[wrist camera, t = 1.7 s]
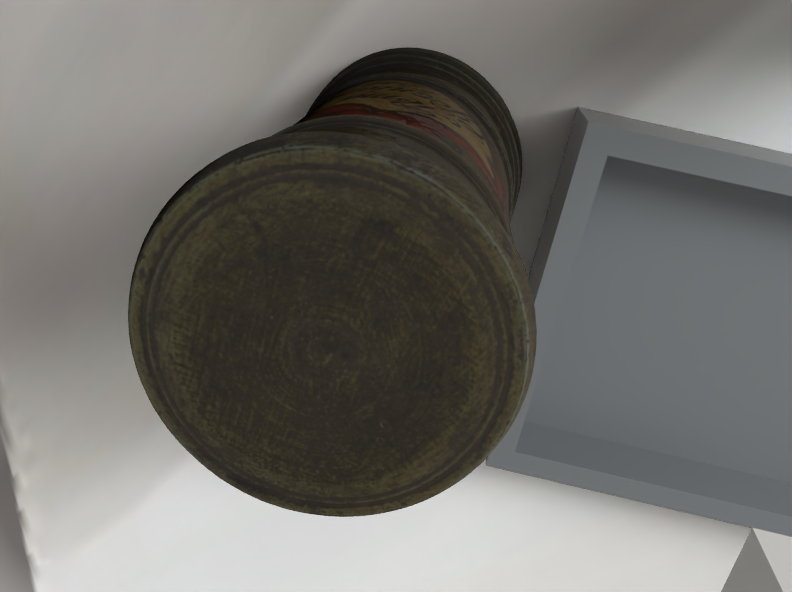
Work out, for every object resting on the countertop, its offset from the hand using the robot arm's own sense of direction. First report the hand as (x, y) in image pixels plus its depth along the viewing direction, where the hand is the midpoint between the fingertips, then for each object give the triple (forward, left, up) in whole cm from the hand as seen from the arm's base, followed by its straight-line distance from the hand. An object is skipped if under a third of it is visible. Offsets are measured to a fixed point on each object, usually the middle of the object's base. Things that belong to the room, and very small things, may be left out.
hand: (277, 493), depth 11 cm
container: (0, 0, -23) cm, 23 cm away
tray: (+17, -4, -22) cm, 28 cm away
